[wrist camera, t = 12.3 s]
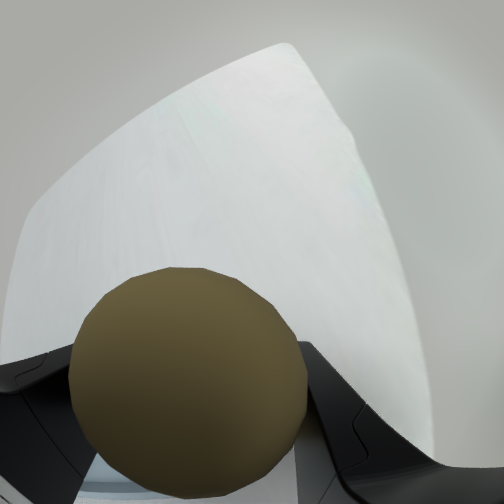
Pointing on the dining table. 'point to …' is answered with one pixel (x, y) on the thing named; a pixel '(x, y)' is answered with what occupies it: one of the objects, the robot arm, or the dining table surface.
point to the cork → (188, 383)
